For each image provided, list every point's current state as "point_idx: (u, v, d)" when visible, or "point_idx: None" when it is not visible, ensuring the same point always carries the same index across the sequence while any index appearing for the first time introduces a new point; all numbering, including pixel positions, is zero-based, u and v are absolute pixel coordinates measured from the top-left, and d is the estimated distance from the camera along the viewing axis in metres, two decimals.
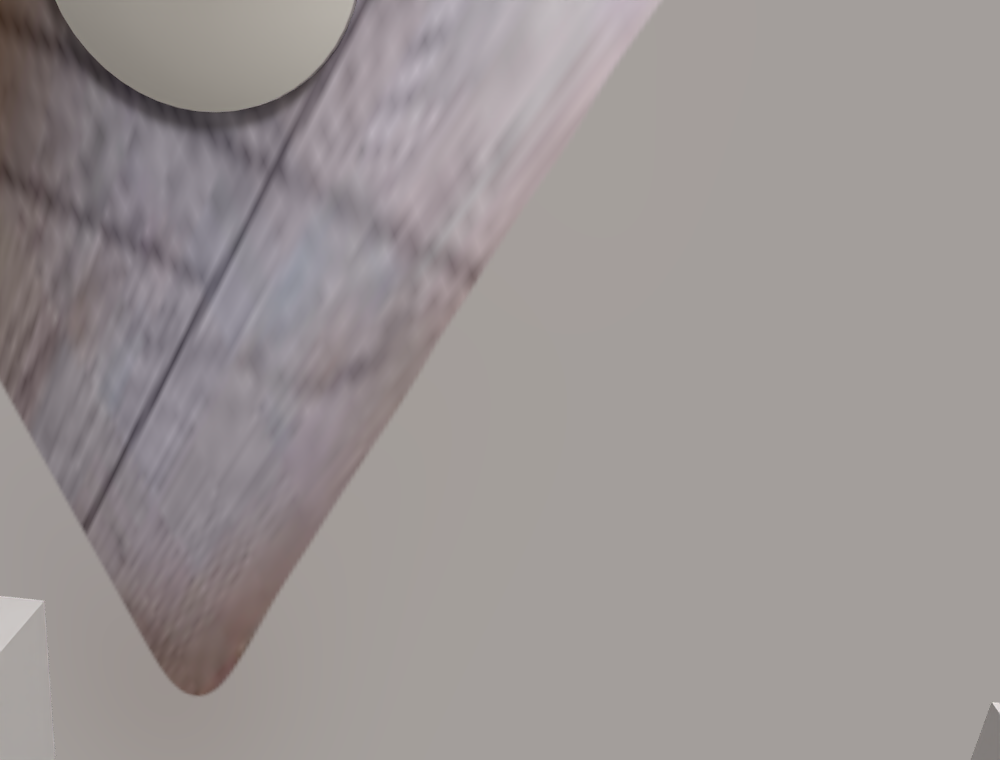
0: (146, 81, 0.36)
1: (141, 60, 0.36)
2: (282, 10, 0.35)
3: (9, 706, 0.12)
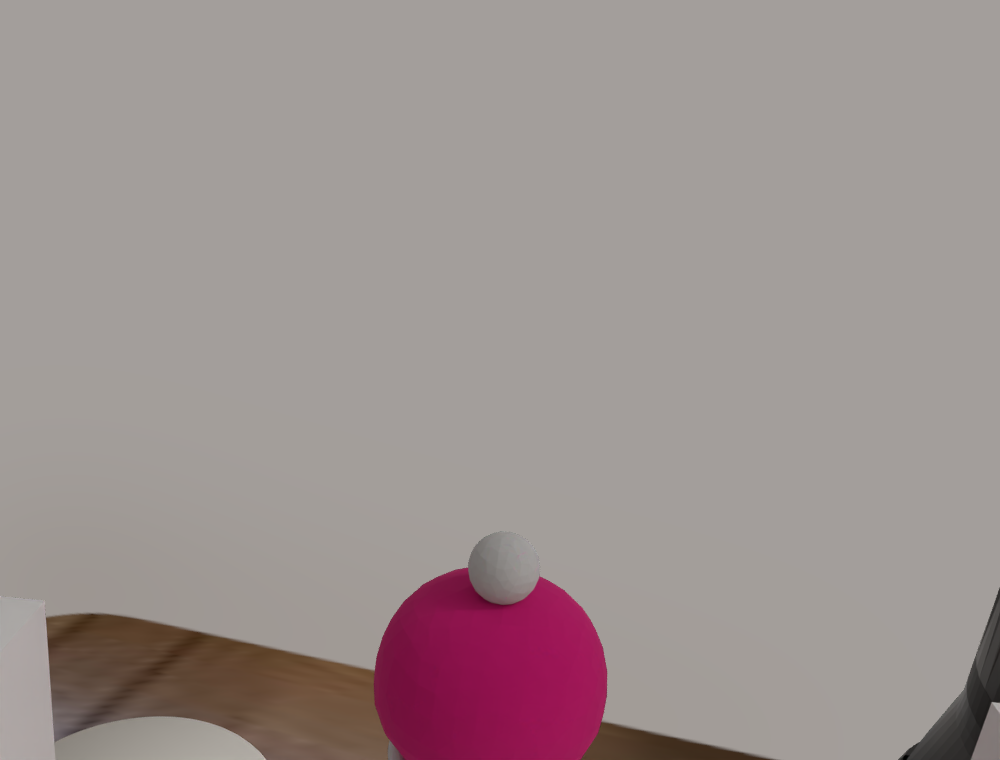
0: None
1: None
2: None
3: (9, 706, 0.12)
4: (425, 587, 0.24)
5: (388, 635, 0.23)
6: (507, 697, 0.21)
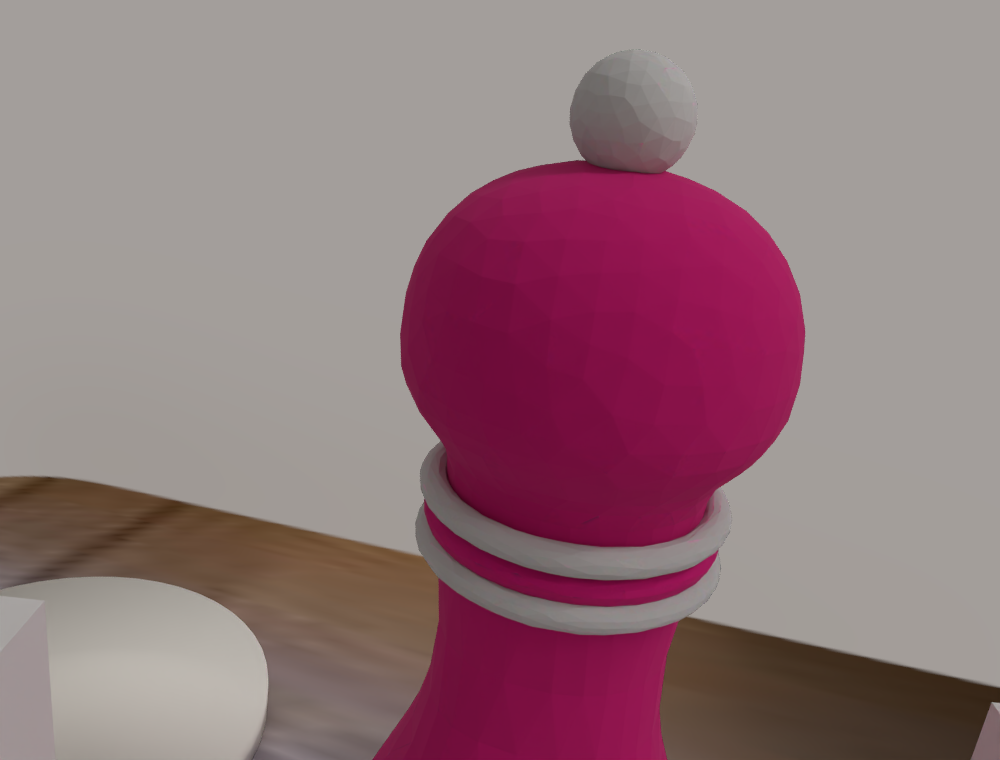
0: None
1: None
2: None
3: (9, 706, 0.12)
4: None
5: (427, 242, 0.13)
6: (652, 286, 0.11)
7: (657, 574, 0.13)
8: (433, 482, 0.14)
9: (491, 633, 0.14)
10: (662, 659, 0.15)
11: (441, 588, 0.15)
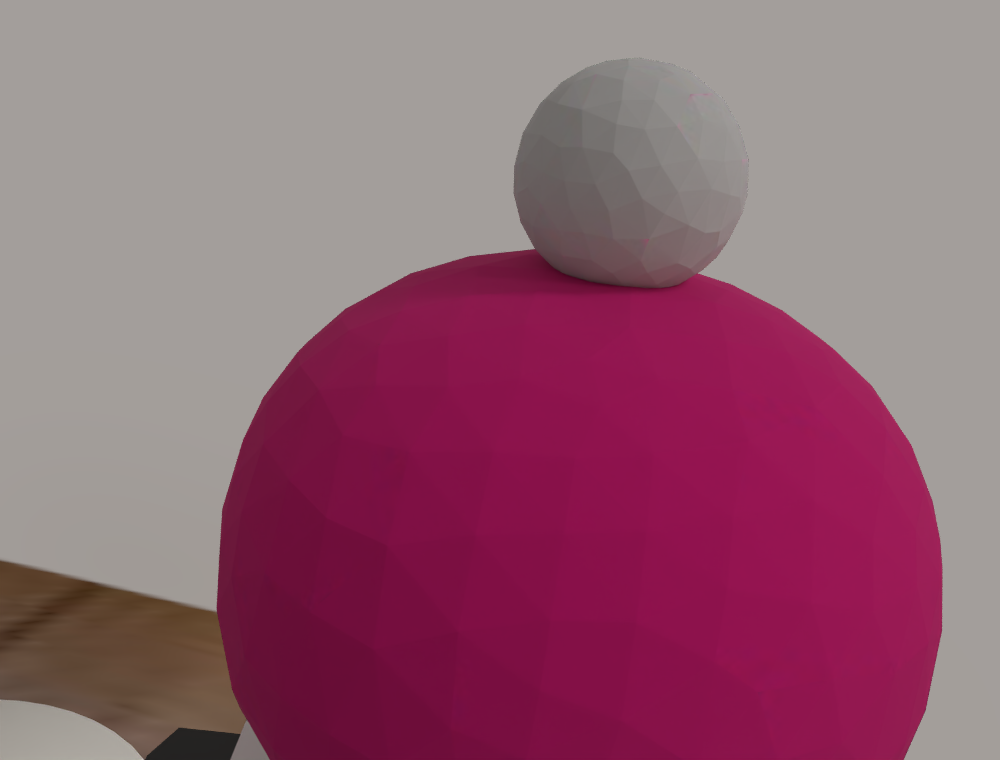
0: None
1: None
2: None
3: None
4: None
5: (261, 403, 0.07)
6: (672, 561, 0.05)
7: None
8: None
9: None
10: None
11: None
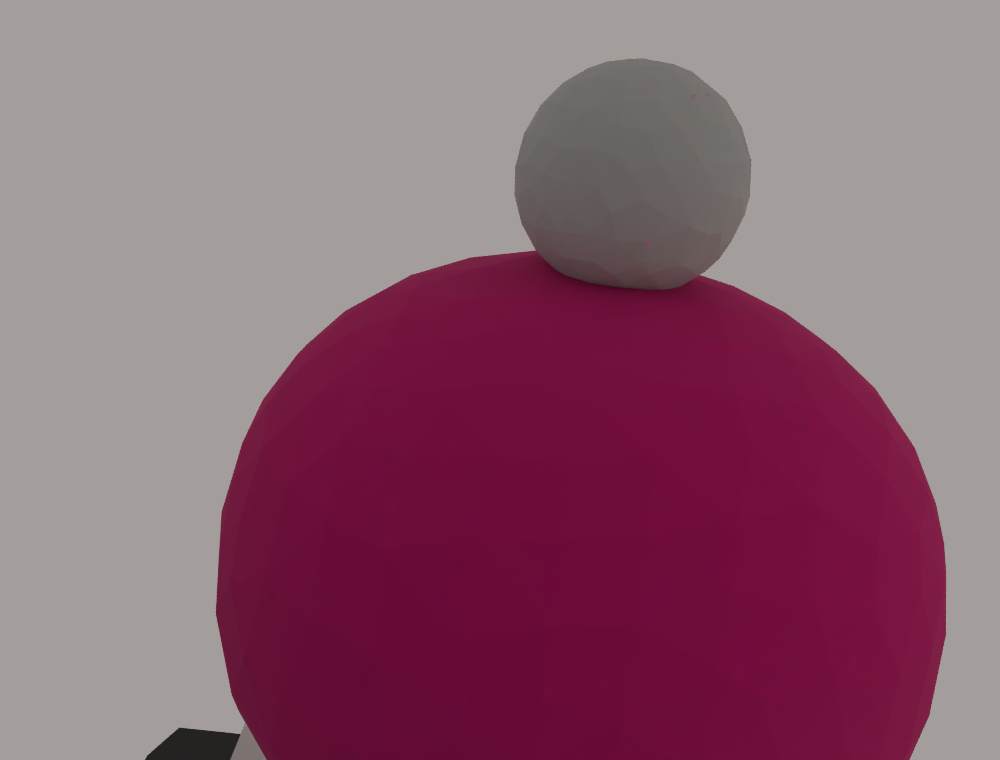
0: None
1: None
2: None
3: None
4: None
5: (261, 405, 0.07)
6: (676, 566, 0.05)
7: None
8: None
9: None
10: None
11: None
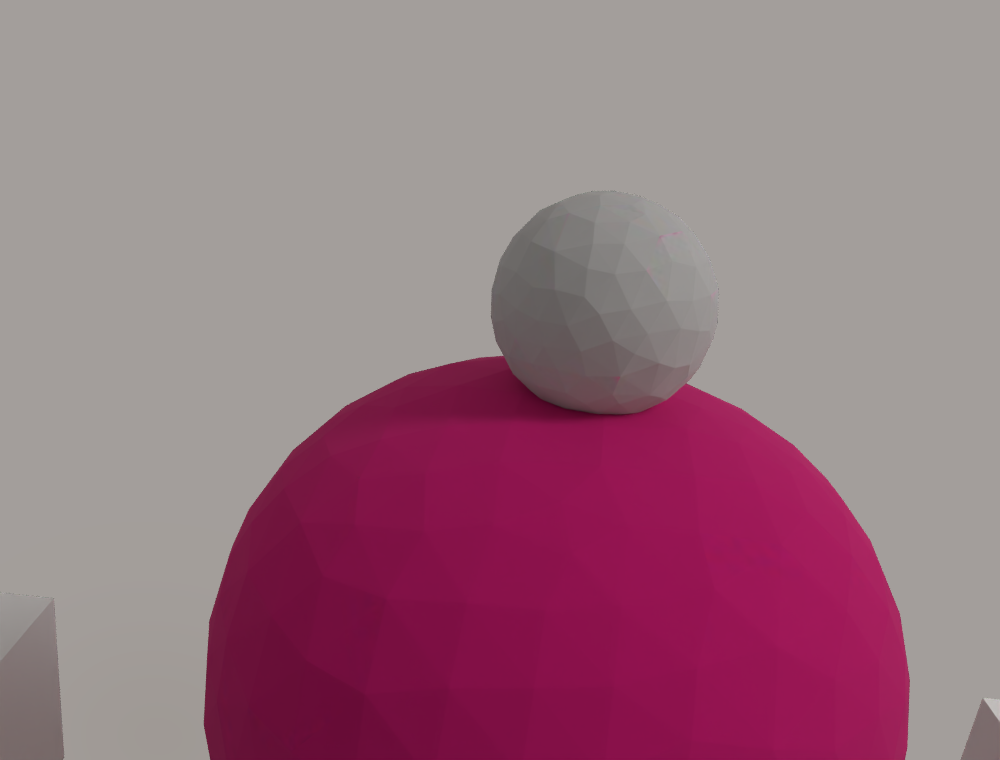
0: None
1: None
2: None
3: (19, 703, 0.12)
4: None
5: (247, 518, 0.08)
6: (639, 716, 0.05)
7: None
8: None
9: None
10: None
11: None
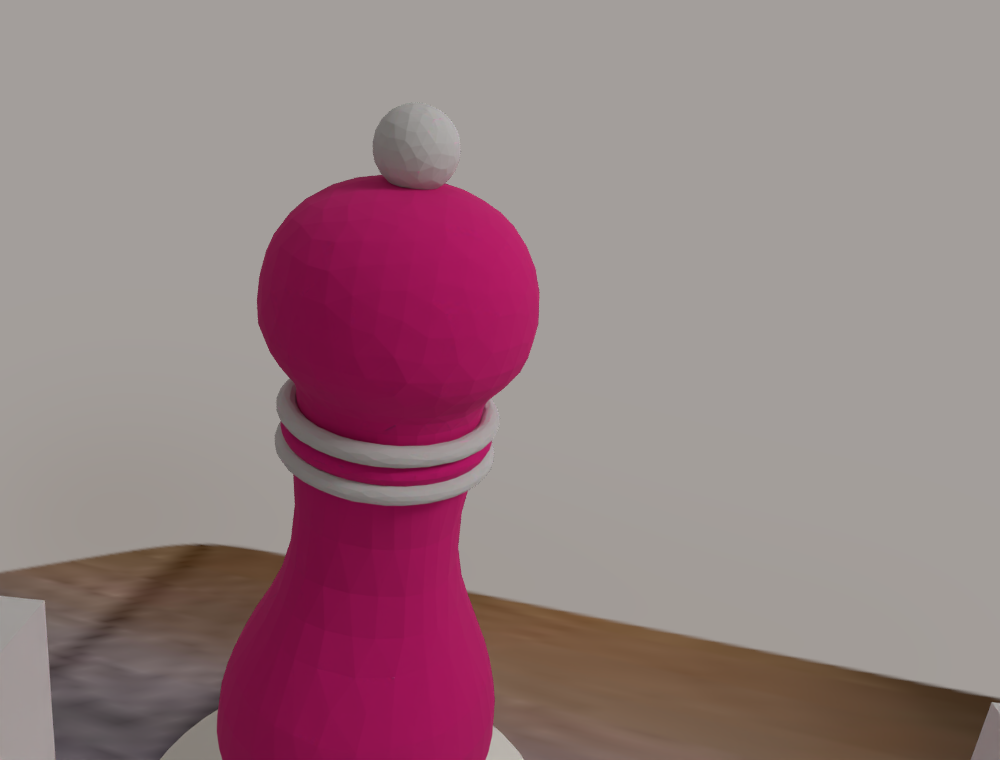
0: (180, 758, 0.27)
1: (208, 754, 0.28)
2: None
3: (9, 706, 0.12)
4: None
5: (274, 235, 0.19)
6: (419, 273, 0.17)
7: (437, 463, 0.19)
8: (285, 405, 0.20)
9: (328, 508, 0.20)
10: (452, 525, 0.21)
11: (295, 480, 0.21)
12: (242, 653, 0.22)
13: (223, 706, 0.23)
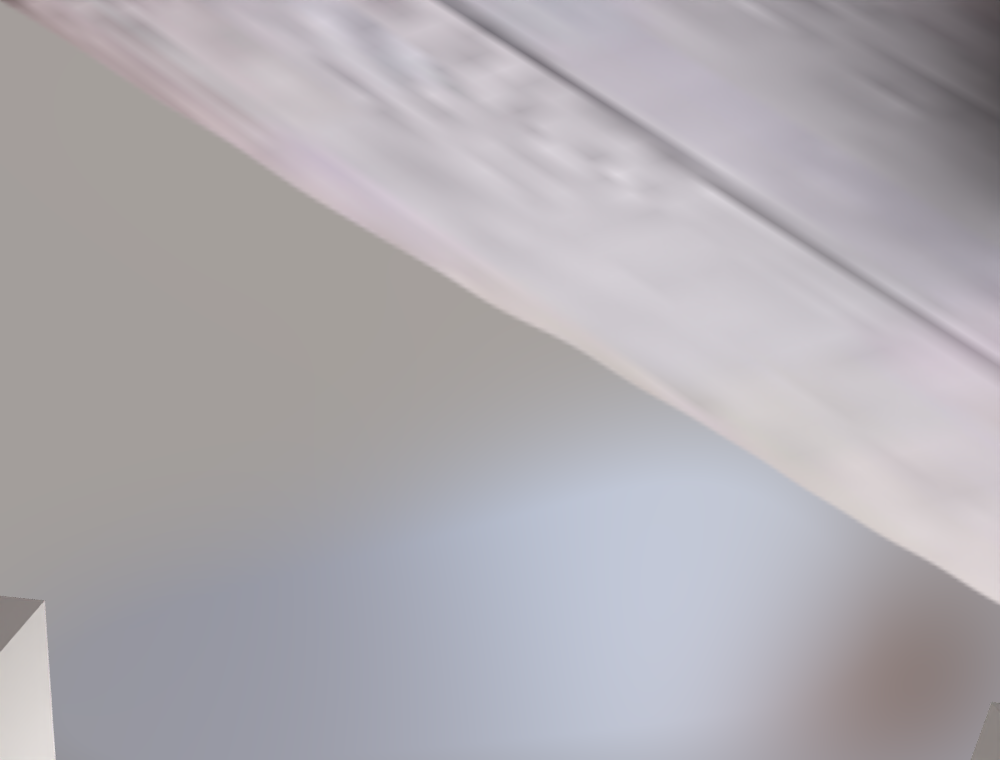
0: None
1: None
2: None
3: (9, 706, 0.12)
4: None
5: None
6: None
7: None
8: None
9: None
10: None
11: None
12: None
13: None
